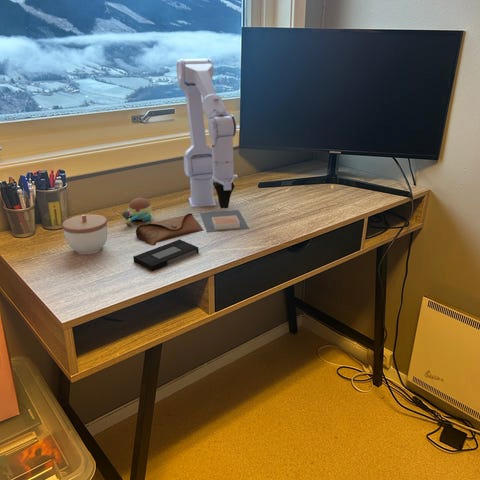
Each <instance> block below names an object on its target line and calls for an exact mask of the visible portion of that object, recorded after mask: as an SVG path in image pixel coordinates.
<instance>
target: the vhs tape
mask: <svg viewBox="0 0 480 480" xmlns="http://www.w3.org/2000/svg"><path fill="white" fill-rule="evenodd" d="M199 253H200V252H199V247H198V246H196V245H194V244H191V243H190V242H187V241H184V240H183V239H181V238H180V239H176V240H174V241H172V242H169V243H166V244H163V245H161V246H158V247H156V248H153V249H151V250H147V251H145V252H141V253H140V254H137V255H134V256H132V257H133V263H135V264H136V265H138V266H139V267H142V268H143V269H144V268H145V269H146V270H148V271H150V272H155V271H158V270H161V269H163V268H165V267H168V266H169V265H172V264H174V263H178V262H179V261H182V260H184V259H186V258H189V257H191V256H194V255H197V254H199Z"/></svg>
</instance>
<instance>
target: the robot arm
mask: <svg viewBox="0 0 480 480" xmlns="http://www.w3.org/2000/svg"><path fill="white" fill-rule="evenodd" d="M175 69H176V78H177V85H178V89H179V90H182V91H183V92H184V97H185V102H186V112H187V121H188V128H189V138H190V144H191V145H190V147H189V148H187V150H185V152H184V153H183V169H184V174H185V175H186V177H188V178H189V183H190V197H188V200H189V204H190V207H191V208H199V207H200V208H201V207H214V206H215V207H216V206H217V203H216V201H215V198H214V189H215V192H216V196H217V200H218V205H219V207H220V209H228V208H229V205H230V200H231V196H232V193H233V190H234V189H235V184H234V180H235V179H238V178H239V176H238V175H237V174H234V137H235V136H236V134H237V121H236V119H235V116H234V115H233V114H231V112H228V110H227V108H226V106H225V104H224V101H223V98H222V96H221V95H220V94H216V90H215V87H214V84H213V78H214V71H215V70H214V63H213V61H212V60H211V58H210V57H206V58H179V59H178V60H177V62H176V68H175ZM204 114H205V116H206V120H207V125H208V126H207V130H208V131H207V132H208V135H209V143H210V145H211V146H209V145H207V144H208V143H207V135H206V127H205V119H204V117H205V116H204ZM195 155H196V156H195ZM198 155H199V156H198Z"/></svg>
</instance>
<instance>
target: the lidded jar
mask: <svg viewBox="0 0 480 480" xmlns="http://www.w3.org/2000/svg"><path fill="white" fill-rule="evenodd" d="M107 219H108V218H107V217H105V216H103V215H101V214H91V213H90V214H79V215H76V216H72V217H69V218H68V219H66V220H64V221H62V223H61V225H62V226H61V227H62V229H63V235H64V237H65V240H66V243H67V244H68V247H70V249H72V250H73V251H75V252H76V253H77V254H79V255H85V256H87V255H88V256H89V255H92V254H96V253H98V252H100V251H101V250H102V248H103V247H104V246H105V244H106V242H107V239H108V220H107Z"/></svg>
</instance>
